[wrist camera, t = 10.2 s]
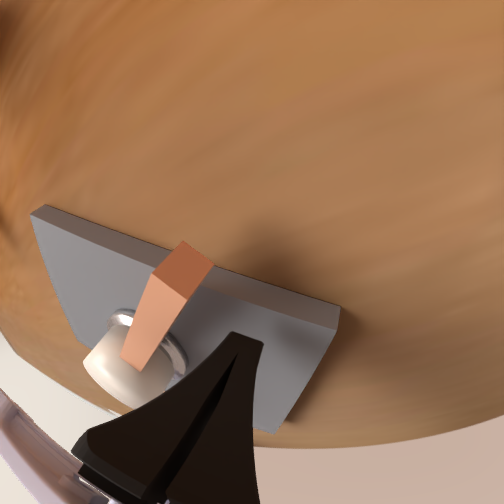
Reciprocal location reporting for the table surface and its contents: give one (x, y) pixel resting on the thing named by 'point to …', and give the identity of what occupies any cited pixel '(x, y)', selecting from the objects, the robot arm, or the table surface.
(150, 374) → the handle
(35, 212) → the base plate
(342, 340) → the table surface
